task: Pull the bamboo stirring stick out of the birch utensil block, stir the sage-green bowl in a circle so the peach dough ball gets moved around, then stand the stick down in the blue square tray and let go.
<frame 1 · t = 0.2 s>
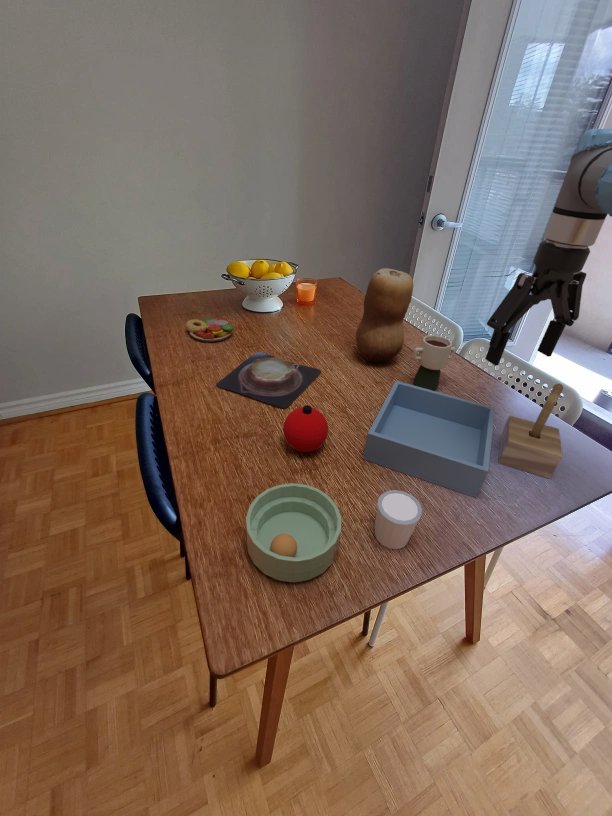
hand: (518, 357, 78), 19 cm above the table, tool pointing down, fingers open, 13 cm apart
utensil block: (523, 456, 84), on the table
butternut squash: (375, 358, 115), on the table
bowl: (292, 542, 63), on the table
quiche: (270, 378, 103), on the table
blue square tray: (427, 444, 85), on the table
toy food set: (211, 334, 122), on the table
white cup: (391, 535, 66), on the table
dough ball: (283, 547, 59), point 3 cm above the table, touching bowl
stirring stick: (540, 422, 78), in a hole of the utensil block
ornament: (304, 447, 82), on the table
character mug: (424, 386, 105), on the table
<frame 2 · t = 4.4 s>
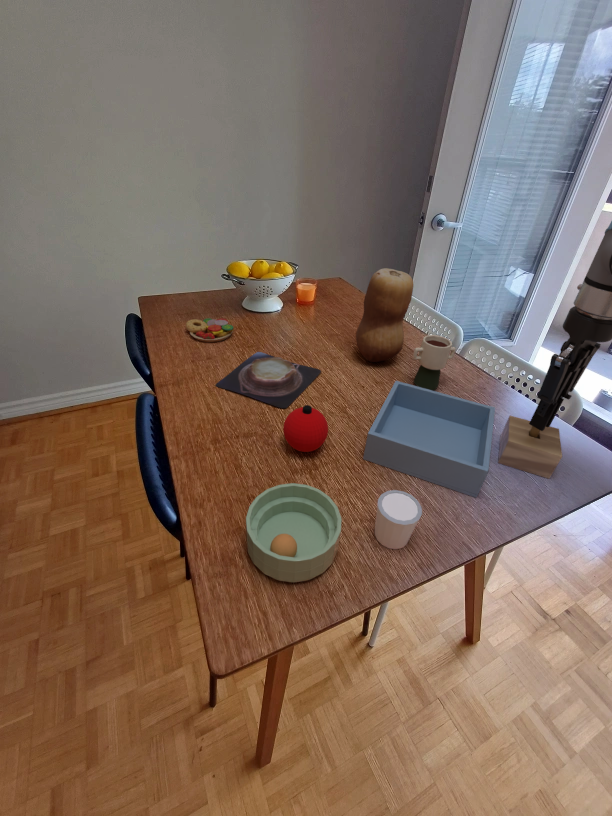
hand: (539, 424, 79), 8 cm above the table, tool pointing down, fingers closed on stirring stick, 1 cm apart
stirring stick: (539, 422, 78), in a hole of the utensil block, touching gripper
everything else where it was.
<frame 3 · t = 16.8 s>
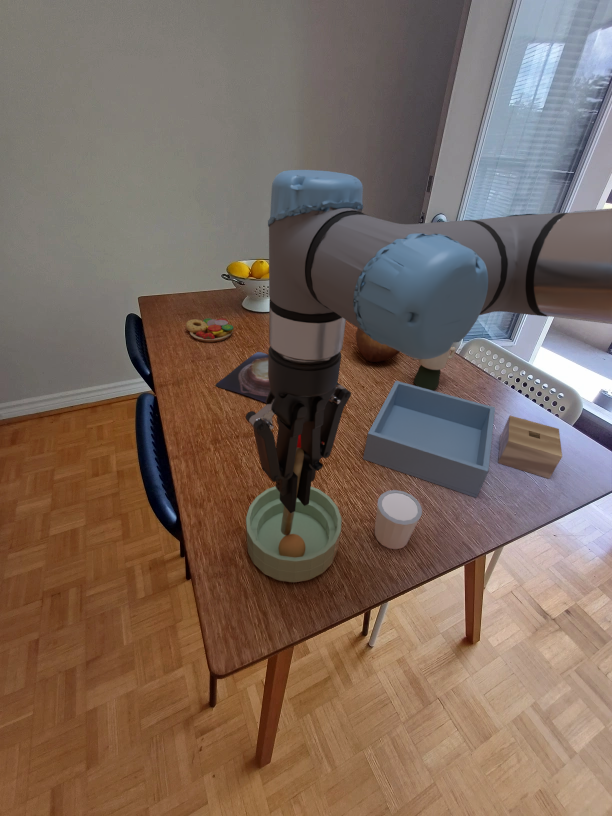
hand: (294, 501, 54), 12 cm above the table, tool pointing down, fingers closed on stirring stick, 1 cm apart
dough ball: (292, 547, 59), point 3 cm above the table, tilted 34°, touching bowl, stirring stick
stirring stick: (291, 495, 54), point 13 cm above the table, tilted 5°, touching dough ball, gripper
everything else where it was.
when the fingers open (9 cm above the table, at t = 29.9 s): stirring stick drops 4 cm and tips over, resting on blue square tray.
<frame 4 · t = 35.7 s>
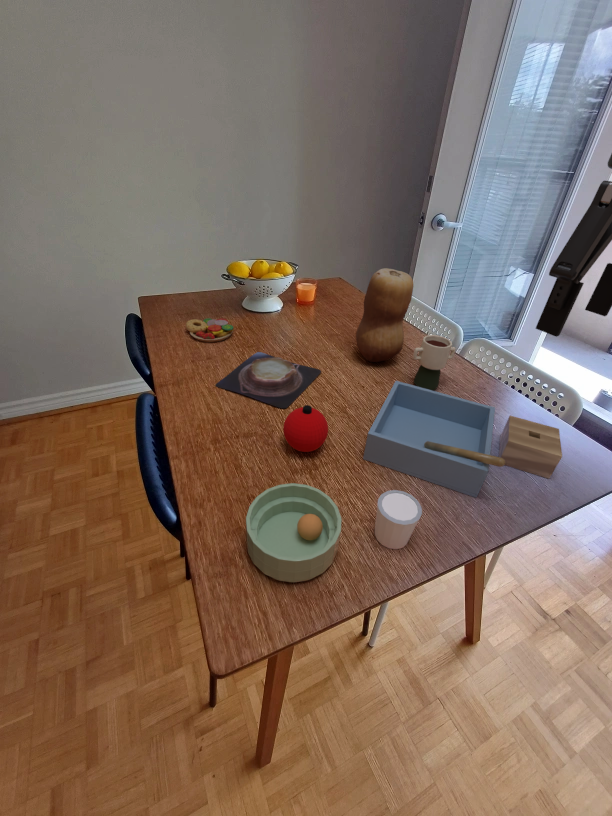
hand: (572, 322, 53), 35 cm above the table, tool pointing down, fingers open, 13 cm apart
dough ball: (309, 526, 62), point 3 cm above the table, tilted 111°, touching bowl
stirring stick: (460, 452, 75), in the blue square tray, tilted 63°
everything else where it was.
at the end: stirring stick inside the target area in the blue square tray (1.8 cm from its centre), point 5.3 cm above the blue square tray's base; the gripper is holding nothing; dough ball moved 5.6 cm from its start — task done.
